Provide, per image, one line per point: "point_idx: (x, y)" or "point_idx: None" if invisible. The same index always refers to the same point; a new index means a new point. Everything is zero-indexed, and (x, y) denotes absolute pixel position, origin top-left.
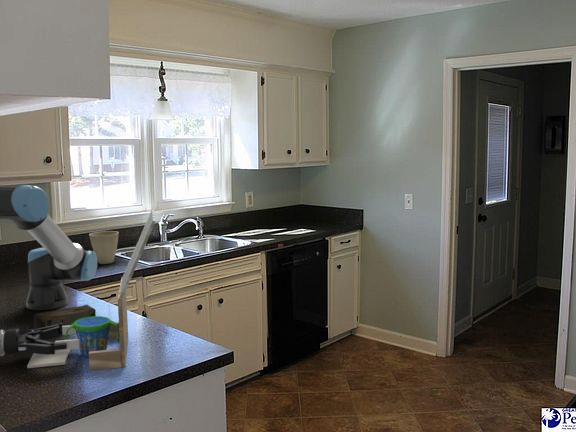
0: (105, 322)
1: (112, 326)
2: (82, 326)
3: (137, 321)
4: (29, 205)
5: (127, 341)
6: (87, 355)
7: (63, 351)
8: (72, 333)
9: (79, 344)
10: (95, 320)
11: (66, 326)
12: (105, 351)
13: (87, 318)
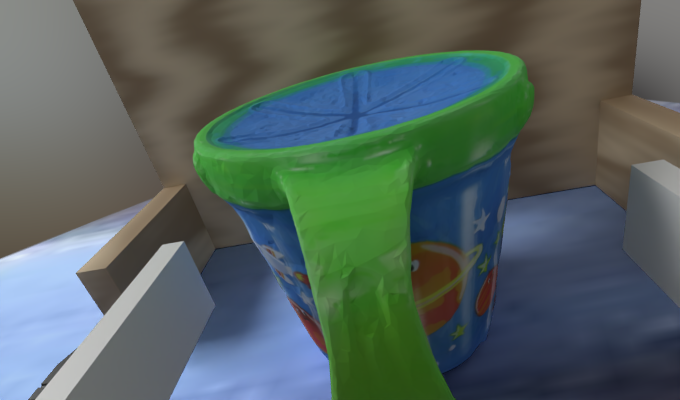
0: (386, 70)
1: (166, 226)
2: (513, 72)
3: (54, 251)
4: None
5: None
6: (490, 320)
7: None
8: (164, 393)
9: (629, 218)
10: (287, 117)
11: (75, 388)
12: (678, 117)
13: (226, 136)
